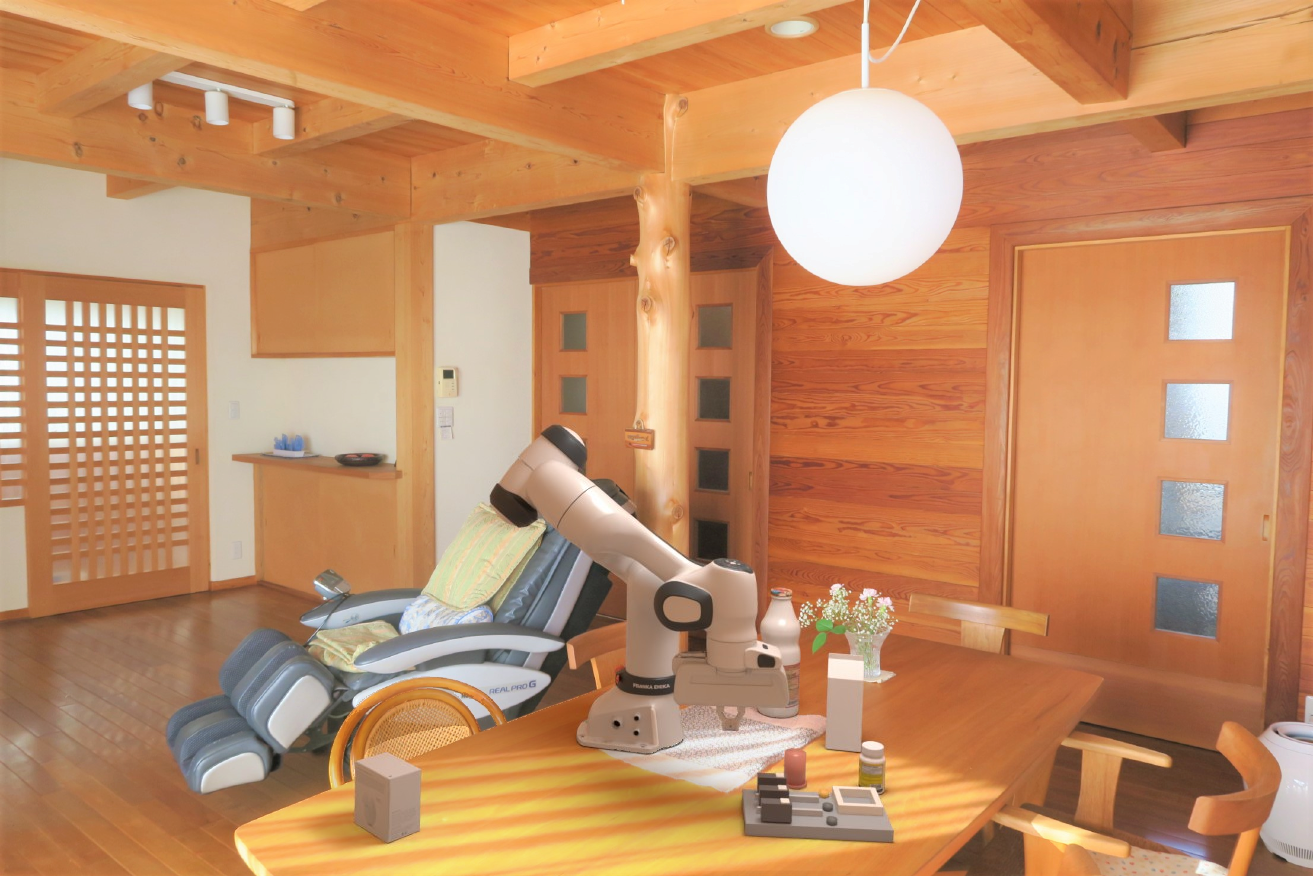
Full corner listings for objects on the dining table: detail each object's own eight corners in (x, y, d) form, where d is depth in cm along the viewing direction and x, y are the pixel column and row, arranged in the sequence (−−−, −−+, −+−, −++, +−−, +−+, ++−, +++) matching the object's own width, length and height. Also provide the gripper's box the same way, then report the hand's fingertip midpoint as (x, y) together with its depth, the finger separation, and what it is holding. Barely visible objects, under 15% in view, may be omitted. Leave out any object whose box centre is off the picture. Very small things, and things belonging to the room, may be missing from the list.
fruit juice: (751, 714, 206) (755, 591, 205) (763, 701, 215) (767, 583, 213) (792, 721, 203) (796, 596, 201) (803, 708, 211) (807, 588, 210)
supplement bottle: (865, 782, 172) (867, 738, 172) (888, 789, 170) (890, 744, 169) (853, 790, 169) (855, 745, 168) (877, 798, 166) (879, 752, 165)
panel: (745, 835, 151) (746, 814, 151) (742, 799, 164) (742, 780, 164) (893, 842, 150) (894, 821, 150) (878, 805, 163) (878, 786, 162)
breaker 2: (759, 807, 156) (759, 788, 156) (758, 801, 158) (759, 783, 158) (788, 808, 156) (789, 790, 156) (787, 803, 158) (788, 785, 158)
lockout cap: (783, 789, 169) (784, 757, 168) (780, 778, 173) (781, 747, 173) (808, 790, 168) (809, 758, 168) (805, 779, 173) (806, 748, 173)
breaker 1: (757, 794, 161) (758, 776, 161) (756, 789, 163) (757, 771, 163) (786, 795, 161) (786, 777, 161) (785, 790, 163) (785, 772, 163)
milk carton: (860, 753, 186) (864, 661, 185) (825, 749, 187) (828, 658, 186) (860, 740, 193) (863, 651, 192) (825, 736, 194) (829, 648, 193)
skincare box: (422, 830, 150) (422, 768, 150) (387, 844, 145) (387, 780, 145) (387, 809, 157) (387, 749, 157) (352, 822, 152) (353, 760, 152)
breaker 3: (761, 821, 151) (761, 802, 151) (760, 815, 153) (760, 796, 153) (791, 822, 151) (792, 803, 151) (790, 816, 153) (791, 798, 153)
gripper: (671, 656, 158) (670, 734, 159) (790, 659, 157) (789, 738, 158) (673, 645, 164) (672, 721, 165) (787, 648, 163) (786, 725, 164)
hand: (730, 729), depth 161 cm, fingers closed
